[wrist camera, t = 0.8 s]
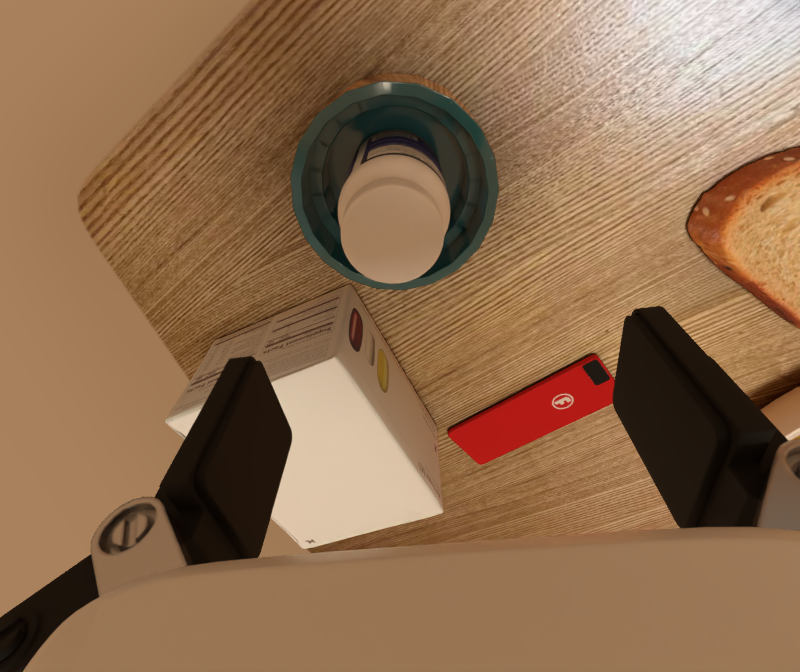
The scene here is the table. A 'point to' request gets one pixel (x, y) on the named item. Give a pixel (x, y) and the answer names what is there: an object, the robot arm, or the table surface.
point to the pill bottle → (393, 208)
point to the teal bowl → (395, 110)
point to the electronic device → (536, 411)
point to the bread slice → (756, 230)
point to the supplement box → (334, 420)
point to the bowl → (785, 414)
